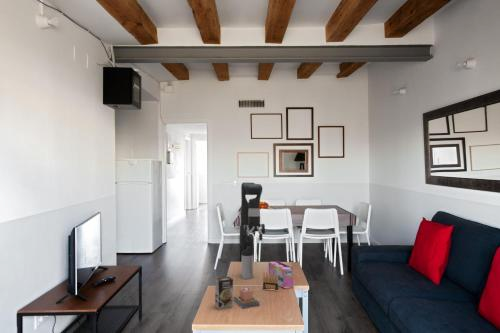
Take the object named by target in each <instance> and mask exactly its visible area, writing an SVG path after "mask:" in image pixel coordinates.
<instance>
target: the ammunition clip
mask: <svg viewBox="0 0 500 333" xmlns="http://www.w3.org/2000/svg"><path fill="white" fill-rule="evenodd" d="M262 276H263V278H262V279H263V280H262V290H263V289H275V290H278V289H280V288H279V286H278V274H276V278H275V273H274V278H273V274H272V273H271V278H270V272H269V271H268V272H265V271H263V275H262Z"/></svg>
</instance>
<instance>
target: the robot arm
mask: <svg viewBox="0 0 500 333" xmlns="http://www.w3.org/2000/svg"><path fill="white" fill-rule="evenodd" d="M240 191H241V192H240V194H241V196H240V199H241V206H240V230H239V245H240V247H247V248H245V249H243V250H242V251H241V279H244V280H250V279H251V280H252V279H253V278H254V242H255V240H254V239H255V238H254V234H253V233H254V232H258V240H259V241H262V240H263V235H264V234H266V226H265V225H266V224H264V223H261V209H260V208H261V207H260V205H261V203H260V202H261V196H262V194H263V186H262V185H261V184H260V183H255V182H242V183H241V188H240ZM246 196H255V197H253V198H250V199H248V200H247V197H246ZM260 228H261V229H260Z"/></svg>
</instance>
